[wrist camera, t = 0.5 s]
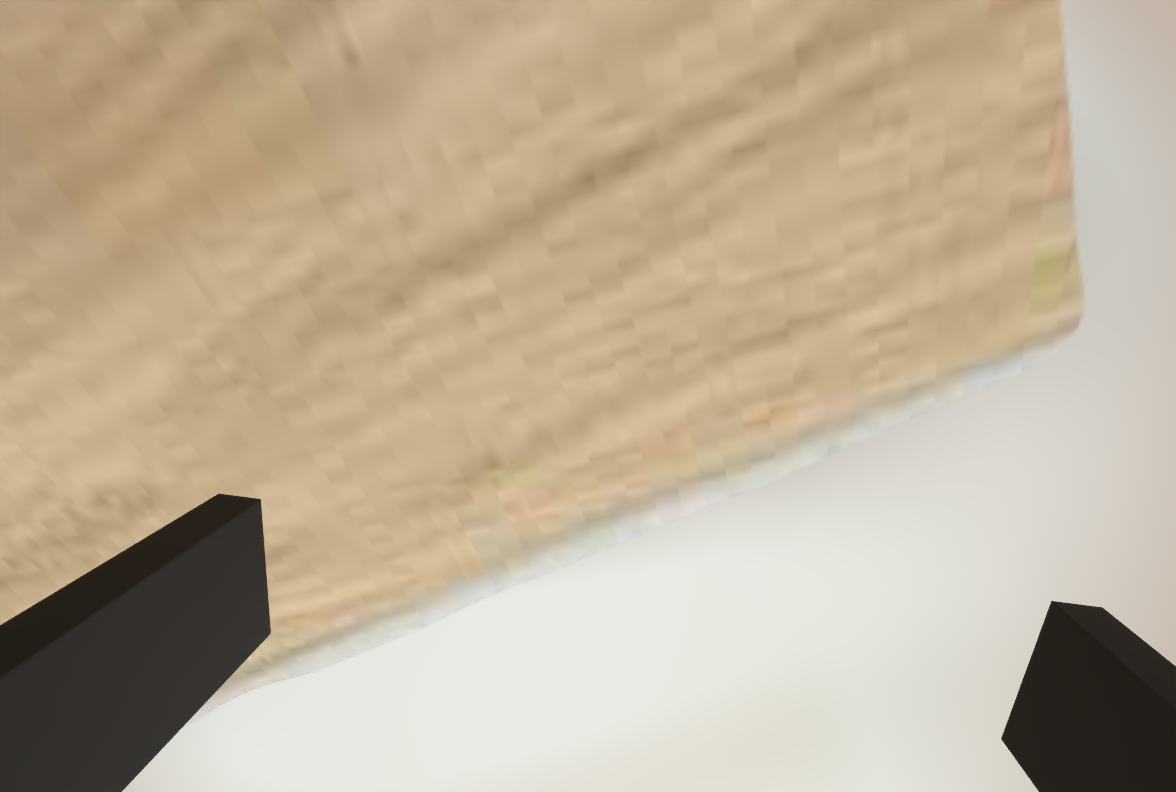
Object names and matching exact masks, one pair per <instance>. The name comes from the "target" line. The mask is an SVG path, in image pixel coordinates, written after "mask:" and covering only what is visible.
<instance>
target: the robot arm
mask: <svg viewBox="0 0 1176 792" xmlns="http://www.w3.org/2000/svg"><path fill="white" fill-rule="evenodd" d="M270 634H271V629H270V616H269V603H268V589H267V576H266V563H265V550H264V537H263V524H262V510H261V499H255V498H247V497H240V496H232V495H224V494H218V495H216V496H214V497H213V498H211V499H209V500H208V501H206V502H204V503H203V504H201V505H199V506H198V507H196V508H194V509H193V510H191V511H189V512H188V513H186V514H184V515H183V516H181V517H179V518H178V519H176V520H174V521H173V522H171V523H169V524H168V525H166V526H164V527H163V528H161V529H159V530H158V531H156V532H154V533H153V534H151V535H149V536H148V537H146V538H145V539H143V540H141V541H140V542H138V543H136V544H135V545H133V546H131V547H130V548H128V549H126V550H125V551H123V552H121V553H120V554H118V555H116V556H115V557H113V558H111V559H110V560H108V561H106V562H105V563H103V564H101V565H100V566H98V567H96V568H95V569H93V570H91V571H90V572H88V573H86V574H85V575H83V576H81V577H80V578H78V579H76V580H75V581H73V582H72V583H70V584H68V585H67V586H65V587H63V588H62V589H60V590H58V591H57V592H55V593H53V594H52V595H50V596H48V597H47V598H45V599H43V600H42V601H40V602H38V603H37V604H35V605H33V606H32V607H30V608H28V609H27V610H25V611H23V612H22V613H20V614H18V615H17V616H15V617H13V618H12V619H10V620H8V621H7V622H5V623H3V624H2V625H0V792H122V791H123V790H124V789H125V788H126V787H127V785H128V784H129V783H130V782H131V781H132V780H133V779H134V778H135V777H136V776H137V774H139V773H140V772H141V771H142V769H144V767H145V766H146V765H147V764H148V763H149V762H150V761H151V760H152V759H153V758H154V757H155V756H156V755H157V754H158V753H159V751H160V750H161V749H162V748H163V747H164V746H165V745H166V744H167V743H168V742H169V741H170V740H171V739H172V738H173V736H174V735H176V733H177V732H178V731H179V730H180V729H181V728H182V727H183V726H184V725H185V724H186V723H187V722H188V721H189V720H190V719H191V718H192V716H193V715H194V714H195V713H196V712H197V711H198V710H199V709H200V708H201V707H202V706H203V705H204V704H205V703H206V702H207V701H208V699H209V698H210V697H211V696H212V695H213V694H214V693H215V692H216V691H217V690H218V689H219V688H220V687H221V686H222V685H223V684H224V682H225V681H226V680H227V679H228V678H229V677H230V676H231V675H232V674H233V673H234V672H235V671H236V670H237V669H238V668H239V667H240V665H241V664H242V663H243V662H244V661H245V660H246V659H247V658H248V657H249V656H250V655H251V654H252V653H253V652H254V651H255V650H256V648H257V647H258V646H259V645H260V644H261V643H262V642H263V641H264V640H265V639H266V638H267V637H268V636H269V635H270ZM1001 739H1002V741H1003V742H1004V743H1005V745H1006V746H1007V748H1008V749H1009V750H1010V752H1011V753H1012V755H1013V756H1014V757H1015V759H1016V760H1017V762H1018V763H1019V764H1020V766H1021V767H1022V769H1023V770H1024V771H1025V773H1026V774H1027V775H1028V777H1029V778H1030V780H1031V781H1032V782H1033V784H1034V785H1035V787H1036V788H1037V789H1038V791H1039V792H1176V666H1174V665H1173V664H1172V663H1171V662H1169V661H1168V660H1167V659H1166V658H1164V657H1163V656H1162V655H1161V654H1160V653H1158V652H1157V651H1156V650H1154V649H1153V648H1152V647H1151V646H1150V645H1148V644H1147V643H1146V642H1144V641H1143V640H1142V639H1141V638H1140V637H1138V636H1137V635H1136V634H1135V633H1133V632H1132V631H1131V630H1130V629H1128V628H1127V627H1126V626H1125V625H1123V624H1122V623H1121V622H1119V621H1118V620H1117V619H1116V618H1114V617H1113V616H1112V615H1111V614H1109V613H1108V612H1107V611H1106V610H1105V609H1103V608H1102V607H1093V606H1086V605H1078V604H1071V603H1063V602H1055V601H1051V604H1050V607H1049V610H1048V612H1047V615H1046V618H1045V621H1044V623H1043V626H1042V629H1041V631H1040V634H1039V637H1038V640H1037V642H1036V645H1035V648H1034V651H1033V653H1032V656H1031V659H1030V661H1029V664H1028V667H1027V670H1026V672H1025V675H1024V678H1023V681H1022V683H1021V686H1020V689H1019V692H1018V695H1017V697H1016V700H1015V703H1014V705H1013V708H1012V711H1011V713H1010V716H1009V720H1008V722H1007V724H1006V727H1005V730H1004V733H1003V735H1002V738H1001Z"/></svg>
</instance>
